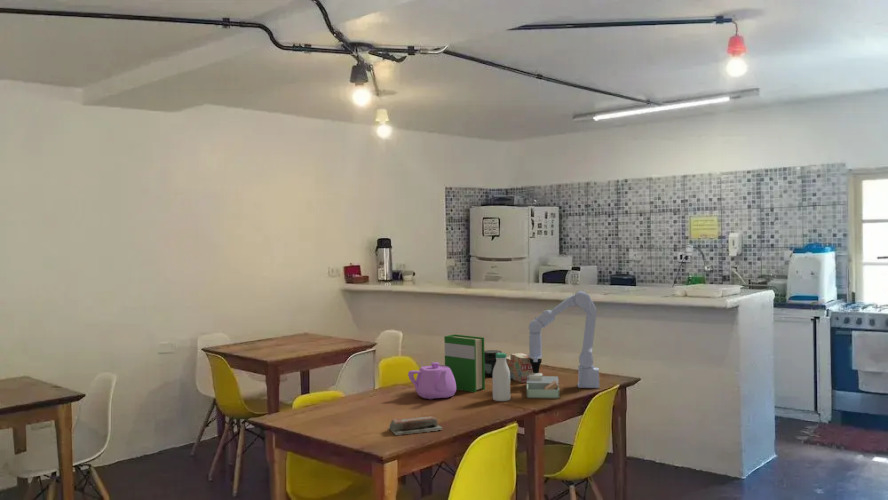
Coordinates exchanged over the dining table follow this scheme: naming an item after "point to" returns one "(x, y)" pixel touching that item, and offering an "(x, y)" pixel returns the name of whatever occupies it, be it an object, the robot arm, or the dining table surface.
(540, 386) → the board
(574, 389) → the dining table surface
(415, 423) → the packaged product
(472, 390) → the hardback book
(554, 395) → the tray
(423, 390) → the teapot
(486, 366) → the supplement container
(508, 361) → the printed cardboard box
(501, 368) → the milk bottle
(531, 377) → the cream tile
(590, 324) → the robot arm
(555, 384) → the terracotta tile
